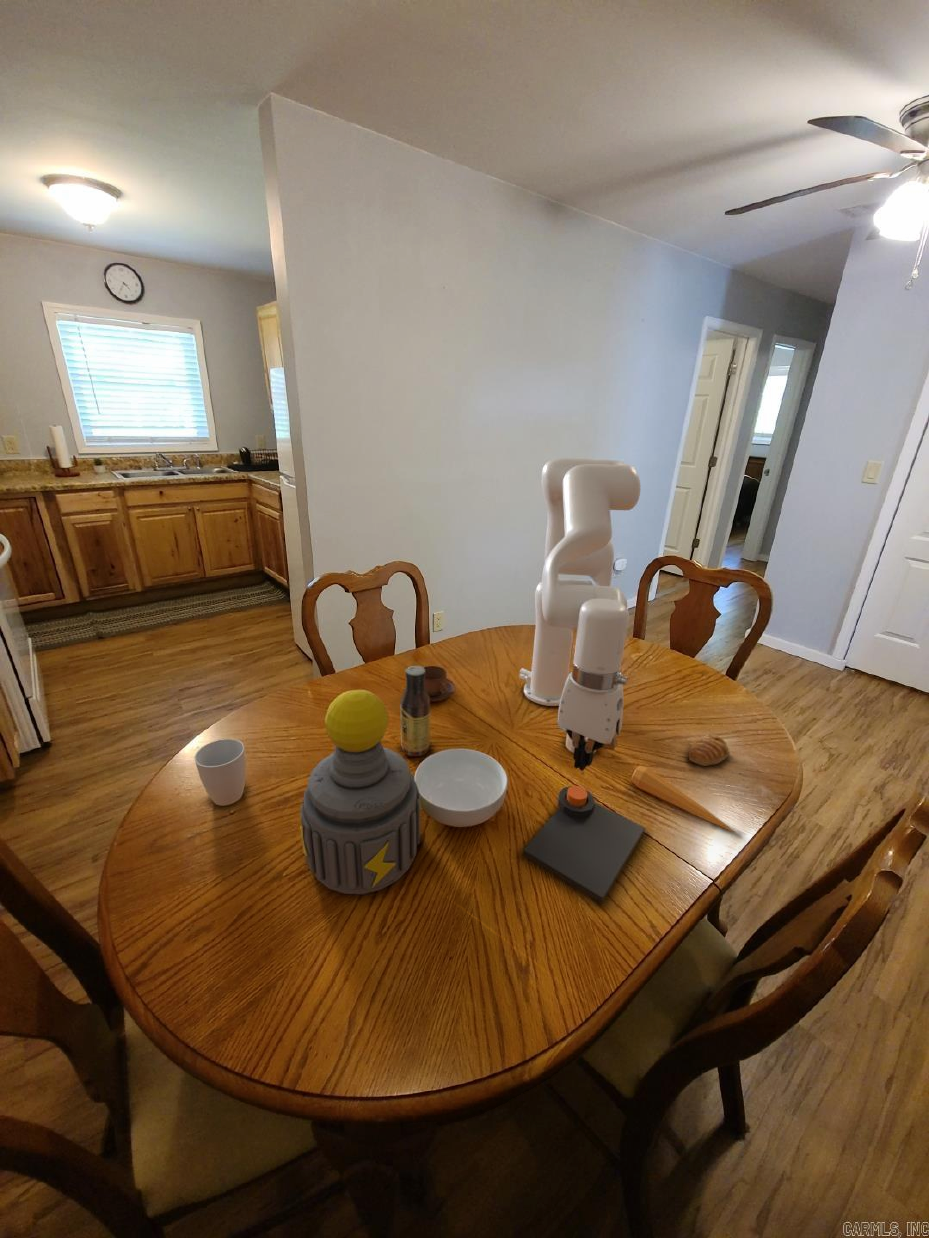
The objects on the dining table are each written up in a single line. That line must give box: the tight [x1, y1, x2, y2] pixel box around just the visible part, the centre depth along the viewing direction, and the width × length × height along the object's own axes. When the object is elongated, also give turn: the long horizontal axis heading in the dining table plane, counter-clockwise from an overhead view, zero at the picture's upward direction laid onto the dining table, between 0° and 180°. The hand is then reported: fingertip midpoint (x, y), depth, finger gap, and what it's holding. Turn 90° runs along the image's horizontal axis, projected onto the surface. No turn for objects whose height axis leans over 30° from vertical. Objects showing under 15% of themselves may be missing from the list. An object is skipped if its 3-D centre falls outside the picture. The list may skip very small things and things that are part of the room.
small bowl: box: [565, 733, 597, 754], centre depth 111 cm, size 7×7×4 cm
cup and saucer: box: [423, 665, 456, 703], centre depth 129 cm, size 12×12×6 cm
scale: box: [522, 785, 646, 905], centre depth 86 cm, size 15×18×3 cm
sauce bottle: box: [399, 665, 431, 758], centre depth 105 cm, size 7×6×20 cm
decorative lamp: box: [299, 689, 423, 895], centre depth 78 cm, size 19×19×30 cm
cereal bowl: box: [413, 748, 509, 828], centre depth 92 cm, size 17×17×7 cm
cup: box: [194, 738, 247, 807], centre depth 92 cm, size 8×8×10 cm
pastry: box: [688, 734, 731, 767], centre depth 109 cm, size 9×7×4 cm
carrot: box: [630, 765, 737, 834], centre depth 95 cm, size 20×4×4 cm, turn 48°
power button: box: [566, 785, 588, 807], centre depth 92 cm, size 4×4×2 cm
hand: (581, 765), depth 89 cm, fingers closed
